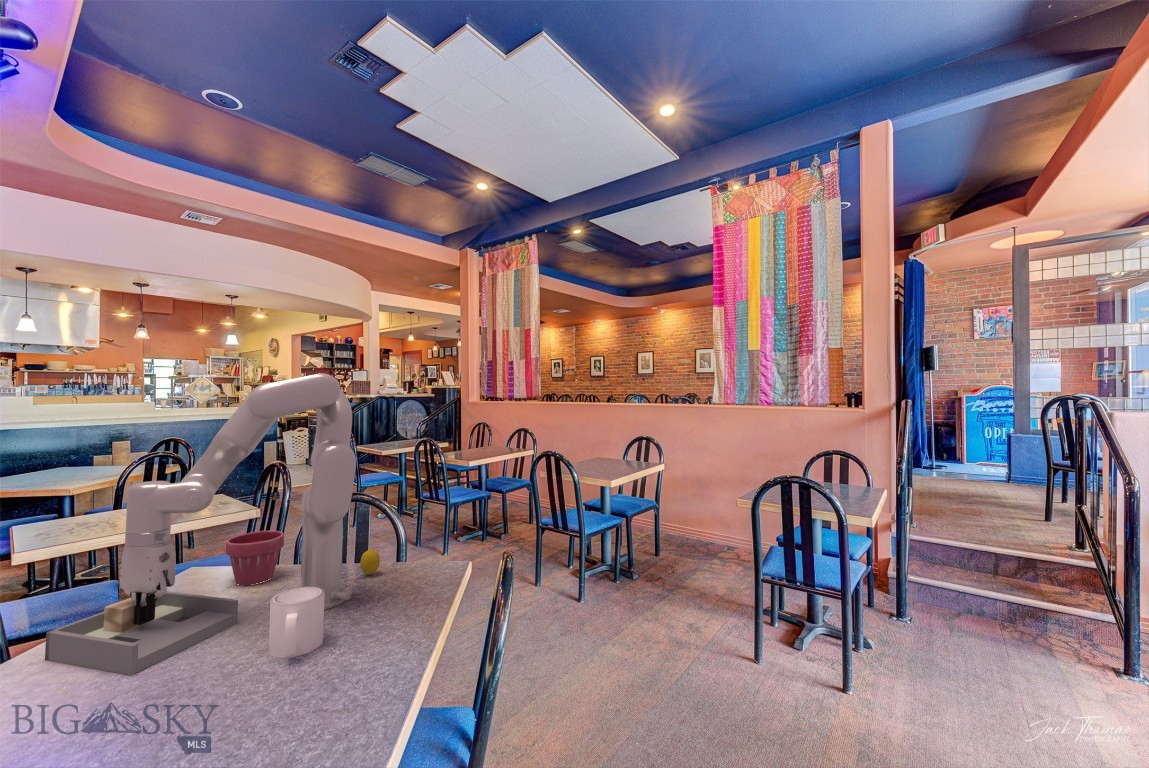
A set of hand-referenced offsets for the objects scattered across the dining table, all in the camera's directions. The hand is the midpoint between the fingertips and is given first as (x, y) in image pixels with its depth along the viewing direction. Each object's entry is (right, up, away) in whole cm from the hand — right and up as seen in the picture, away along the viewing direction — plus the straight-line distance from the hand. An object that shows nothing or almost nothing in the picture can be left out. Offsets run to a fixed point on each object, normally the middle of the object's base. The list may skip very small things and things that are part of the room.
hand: (144, 622), depth 104 cm
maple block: (-5, -1, +1) cm, 5 cm away
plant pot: (+1, -6, +35) cm, 35 cm away
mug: (+35, -4, -3) cm, 35 cm away
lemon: (+33, -6, +40) cm, 52 cm away
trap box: (+2, -4, 0) cm, 4 cm away
